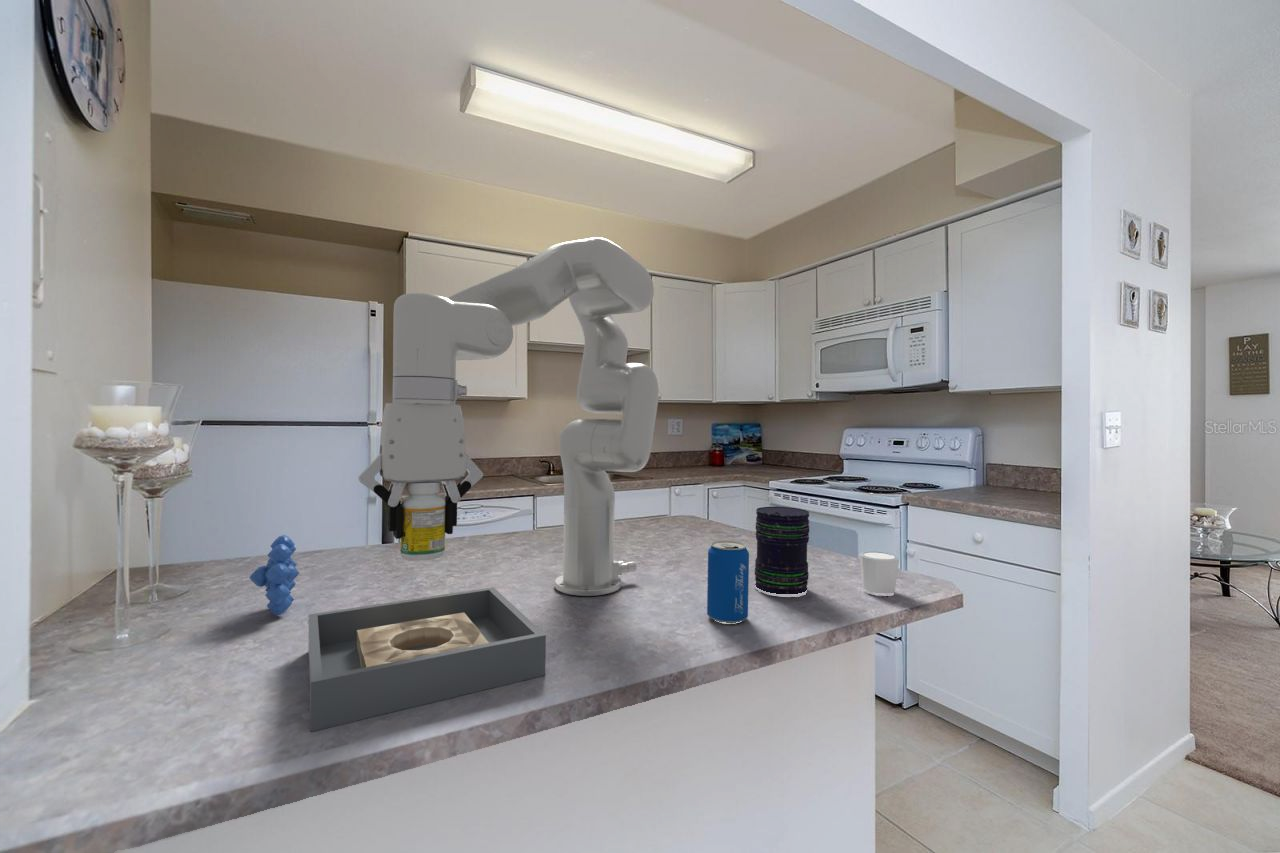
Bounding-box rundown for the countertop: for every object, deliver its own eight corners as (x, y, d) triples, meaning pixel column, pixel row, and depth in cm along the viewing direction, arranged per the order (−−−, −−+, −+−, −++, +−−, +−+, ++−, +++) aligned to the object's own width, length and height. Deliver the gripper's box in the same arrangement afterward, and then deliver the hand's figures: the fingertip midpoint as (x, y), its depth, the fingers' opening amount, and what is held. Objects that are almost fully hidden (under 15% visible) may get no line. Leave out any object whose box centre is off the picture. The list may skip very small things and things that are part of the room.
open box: (493, 618, 88) (493, 587, 88) (545, 675, 69) (545, 635, 69) (308, 651, 75) (308, 614, 75) (310, 731, 56) (310, 682, 56)
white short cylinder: (900, 591, 105) (901, 554, 105) (895, 600, 100) (896, 561, 99) (862, 584, 109) (863, 549, 109) (854, 593, 103) (855, 556, 103)
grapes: (255, 603, 93) (255, 532, 93) (302, 598, 96) (302, 529, 96) (242, 627, 83) (242, 547, 83) (295, 620, 86) (295, 543, 86)
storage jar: (766, 579, 112) (768, 504, 112) (815, 588, 106) (817, 510, 106) (745, 591, 104) (746, 511, 104) (796, 601, 98) (798, 517, 98)
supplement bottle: (444, 560, 70) (445, 483, 70) (397, 562, 68) (398, 484, 68) (445, 550, 75) (446, 479, 75) (402, 552, 73) (403, 479, 73)
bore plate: (464, 628, 82) (464, 612, 81) (492, 665, 69) (492, 646, 69) (356, 647, 74) (356, 630, 74) (366, 693, 62) (367, 672, 62)
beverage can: (722, 629, 85) (724, 550, 85) (699, 615, 91) (700, 542, 90) (756, 622, 88) (757, 546, 88) (731, 609, 94) (732, 538, 93)
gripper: (483, 396, 79) (481, 524, 79) (347, 391, 70) (345, 535, 70) (499, 394, 73) (497, 533, 73) (351, 389, 64) (350, 547, 64)
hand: (423, 532), depth 72 cm, fingers closed on supplement bottle, 5 cm apart
